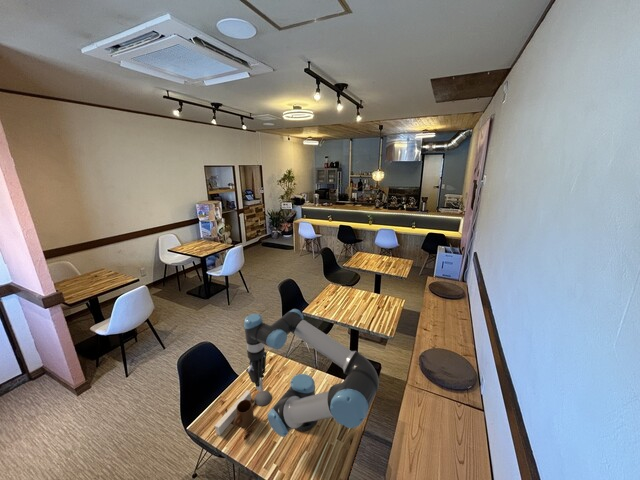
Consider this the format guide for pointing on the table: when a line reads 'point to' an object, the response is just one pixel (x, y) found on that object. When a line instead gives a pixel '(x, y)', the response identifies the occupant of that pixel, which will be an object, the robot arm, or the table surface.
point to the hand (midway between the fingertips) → (259, 389)
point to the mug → (244, 414)
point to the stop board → (230, 414)
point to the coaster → (262, 398)
